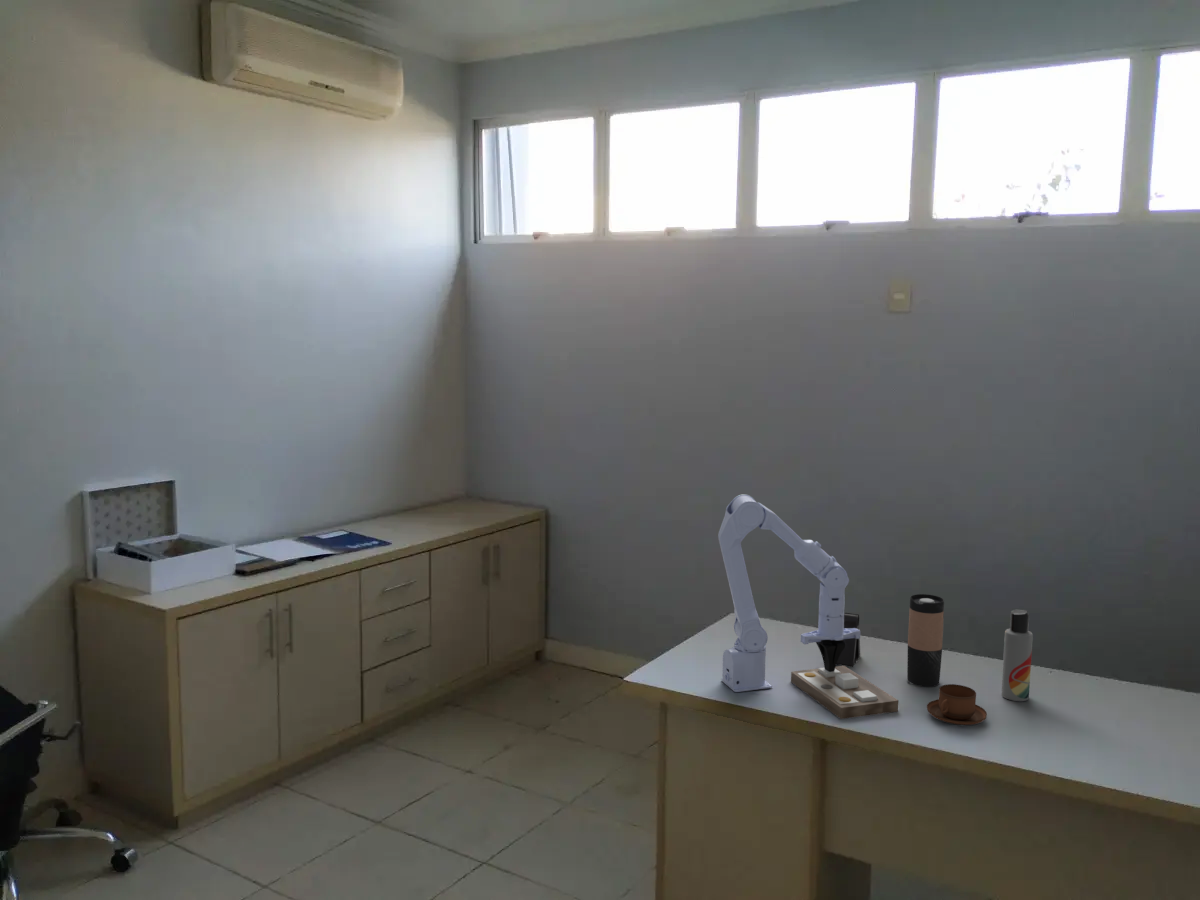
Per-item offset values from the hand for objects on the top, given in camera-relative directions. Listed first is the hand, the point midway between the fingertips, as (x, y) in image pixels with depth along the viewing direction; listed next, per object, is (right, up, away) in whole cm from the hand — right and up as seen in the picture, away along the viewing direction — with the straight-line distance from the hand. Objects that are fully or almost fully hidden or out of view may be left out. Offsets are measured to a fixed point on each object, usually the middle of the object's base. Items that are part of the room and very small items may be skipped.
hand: (829, 670), depth 218 cm
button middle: (+2, -3, -7) cm, 8 cm away
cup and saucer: (+22, -6, -19) cm, 30 cm away
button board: (+1, -4, -7) cm, 8 cm away
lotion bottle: (+40, -4, -7) cm, 41 cm away
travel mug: (+22, -3, +2) cm, 23 cm away
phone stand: (+8, -1, +16) cm, 18 cm away
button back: (0, -3, 0) cm, 3 cm away
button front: (+4, -5, -14) cm, 15 cm away
